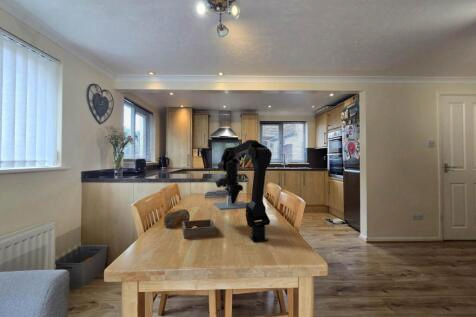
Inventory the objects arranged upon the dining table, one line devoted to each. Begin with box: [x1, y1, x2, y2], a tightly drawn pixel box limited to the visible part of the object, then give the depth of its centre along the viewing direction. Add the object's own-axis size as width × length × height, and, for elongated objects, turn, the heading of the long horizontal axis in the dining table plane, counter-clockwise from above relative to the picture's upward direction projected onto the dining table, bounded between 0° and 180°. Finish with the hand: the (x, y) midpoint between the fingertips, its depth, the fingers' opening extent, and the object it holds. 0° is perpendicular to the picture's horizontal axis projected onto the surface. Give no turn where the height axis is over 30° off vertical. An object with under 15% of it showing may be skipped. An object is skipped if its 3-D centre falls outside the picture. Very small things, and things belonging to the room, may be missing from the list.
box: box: [181, 218, 218, 240], centre depth 116 cm, size 14×14×5 cm
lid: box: [213, 195, 248, 211], centre depth 128 cm, size 16×16×5 cm
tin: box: [163, 208, 190, 229], centre depth 130 cm, size 15×3×8 cm, turn 143°
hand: (232, 203), depth 128 cm, fingers closed on lid, 3 cm apart
